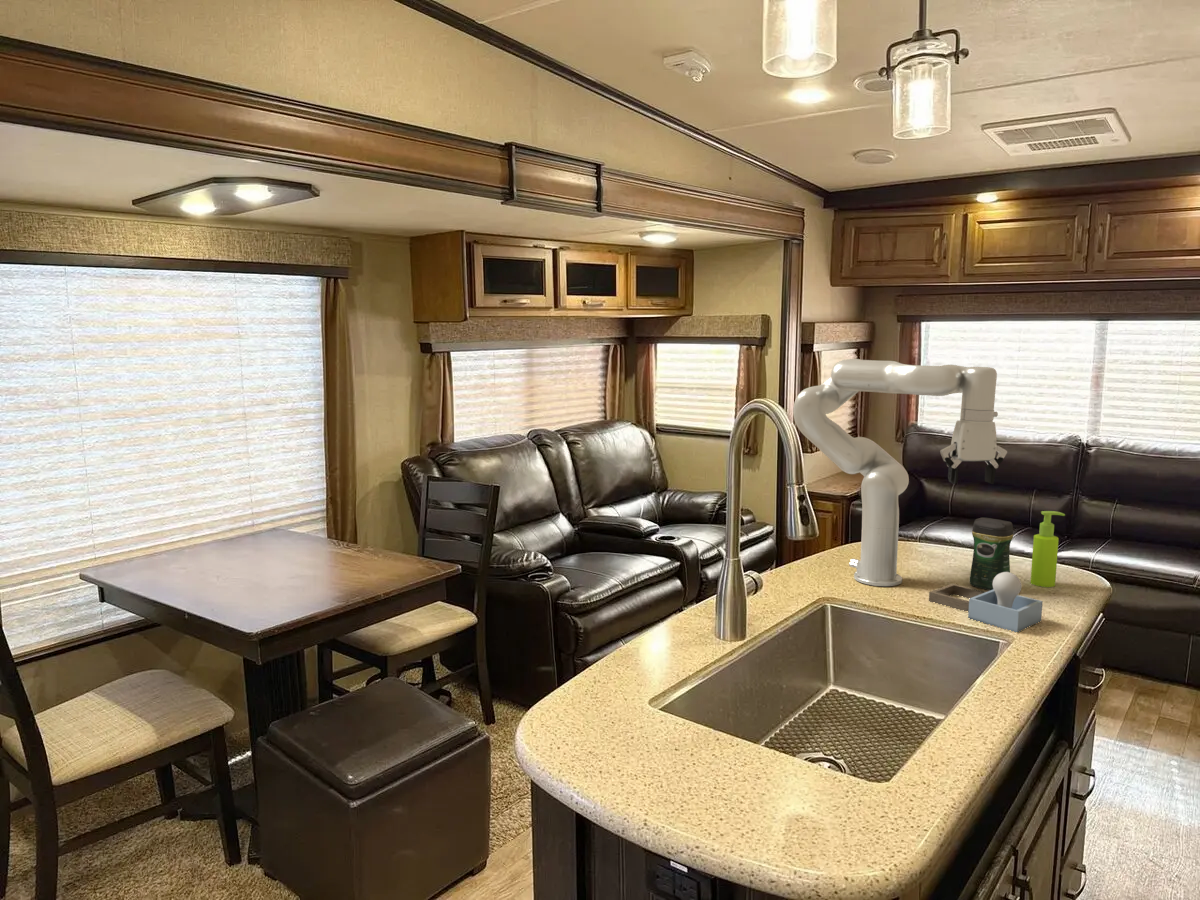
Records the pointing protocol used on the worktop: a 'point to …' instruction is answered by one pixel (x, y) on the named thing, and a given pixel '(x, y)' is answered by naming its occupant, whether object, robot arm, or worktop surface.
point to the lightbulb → (1006, 588)
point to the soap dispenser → (1045, 553)
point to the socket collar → (944, 597)
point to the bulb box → (1005, 611)
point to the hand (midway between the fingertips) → (970, 482)
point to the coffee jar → (990, 551)
